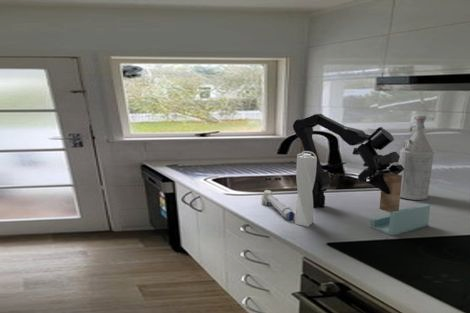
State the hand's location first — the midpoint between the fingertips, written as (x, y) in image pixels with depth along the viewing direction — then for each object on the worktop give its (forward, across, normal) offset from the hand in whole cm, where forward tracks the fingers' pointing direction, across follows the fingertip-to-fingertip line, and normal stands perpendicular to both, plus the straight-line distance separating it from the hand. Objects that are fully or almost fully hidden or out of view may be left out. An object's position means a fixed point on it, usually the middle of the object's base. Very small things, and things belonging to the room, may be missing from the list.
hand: (394, 193), depth 116 cm
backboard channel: (+9, +5, +10) cm, 14 cm away
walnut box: (+4, 0, +6) cm, 7 cm away
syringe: (-16, -25, +36) cm, 46 cm away
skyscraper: (-4, -24, +23) cm, 34 cm away
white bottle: (-6, +45, +26) cm, 53 cm away
